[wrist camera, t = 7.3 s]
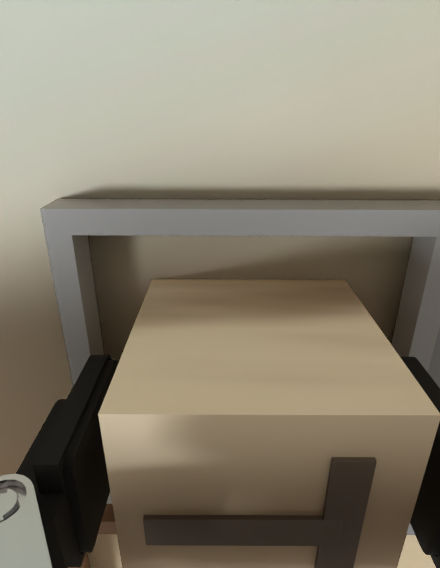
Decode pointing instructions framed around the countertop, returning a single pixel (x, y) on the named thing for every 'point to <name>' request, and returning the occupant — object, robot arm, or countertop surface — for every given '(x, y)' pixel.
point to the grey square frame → (240, 222)
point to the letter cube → (262, 430)
